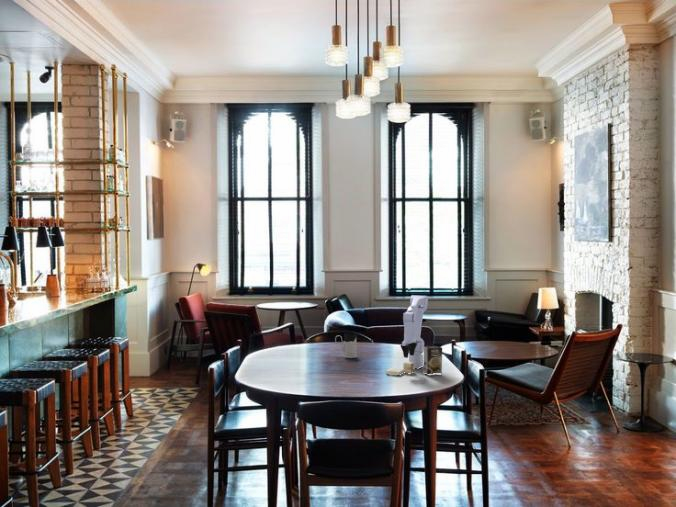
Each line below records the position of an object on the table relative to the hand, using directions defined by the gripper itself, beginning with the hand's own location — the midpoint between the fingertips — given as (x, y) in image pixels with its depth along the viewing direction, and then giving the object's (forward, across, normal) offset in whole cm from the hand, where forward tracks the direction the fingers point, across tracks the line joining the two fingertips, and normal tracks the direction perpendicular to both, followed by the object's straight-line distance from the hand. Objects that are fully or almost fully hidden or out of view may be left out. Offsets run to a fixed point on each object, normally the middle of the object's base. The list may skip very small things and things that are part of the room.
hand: (408, 356), depth 386 cm
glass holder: (+10, +23, +56) cm, 61 cm away
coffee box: (+10, +5, -13) cm, 17 cm away
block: (+10, +1, 0) cm, 10 cm away
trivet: (+10, -5, +6) cm, 13 cm away
